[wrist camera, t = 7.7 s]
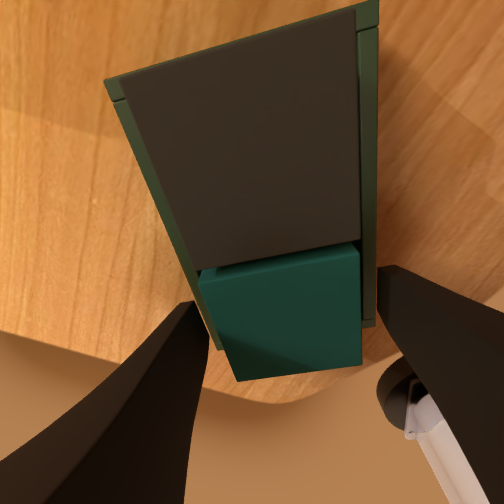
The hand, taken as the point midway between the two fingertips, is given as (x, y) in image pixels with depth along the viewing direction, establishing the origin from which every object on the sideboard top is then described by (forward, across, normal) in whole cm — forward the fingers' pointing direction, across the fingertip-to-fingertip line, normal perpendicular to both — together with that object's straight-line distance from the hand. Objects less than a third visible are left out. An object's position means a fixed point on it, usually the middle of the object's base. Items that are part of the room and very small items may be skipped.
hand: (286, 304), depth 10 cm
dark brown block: (+3, 0, -6) cm, 6 cm away
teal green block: (+3, 0, 0) cm, 3 cm away
